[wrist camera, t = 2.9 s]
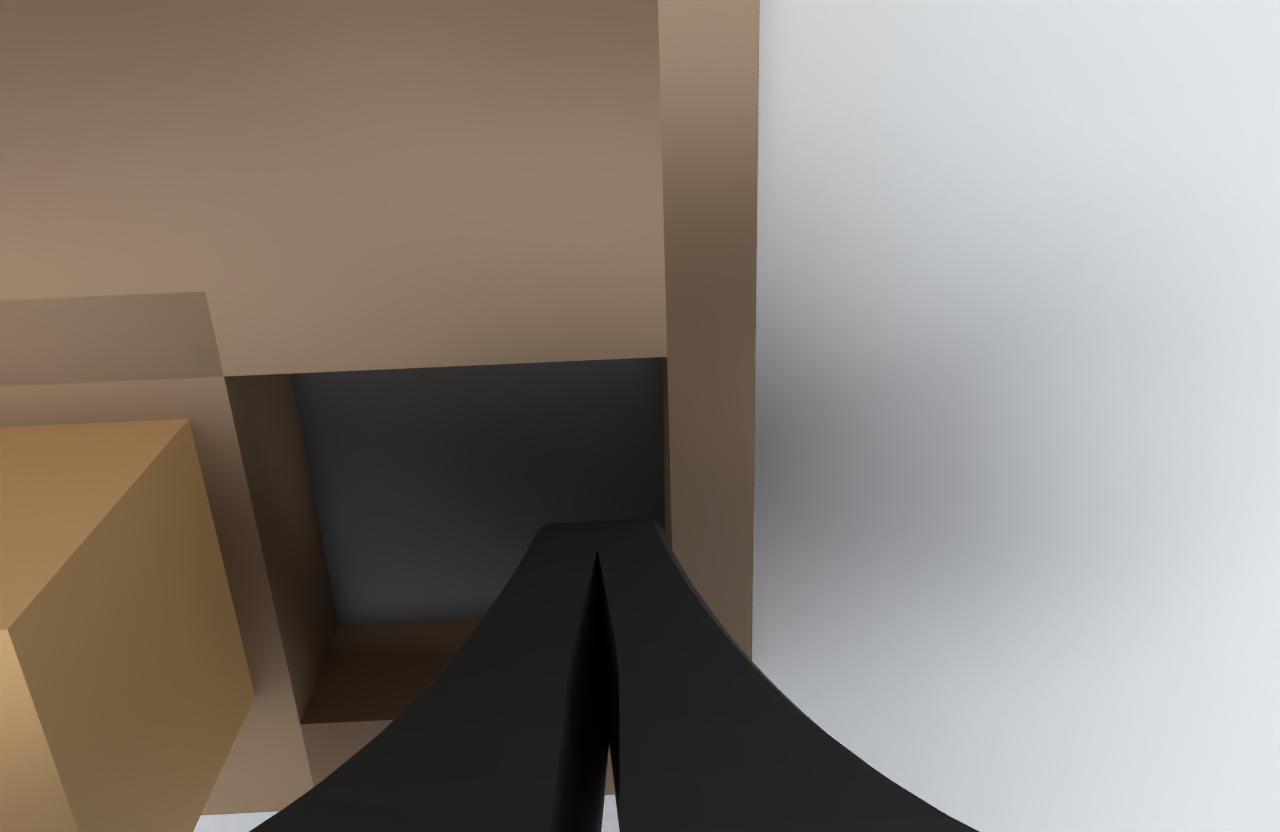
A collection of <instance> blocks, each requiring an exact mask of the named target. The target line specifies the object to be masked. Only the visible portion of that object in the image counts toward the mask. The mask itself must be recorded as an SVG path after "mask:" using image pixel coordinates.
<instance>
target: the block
mask: <svg viewBox="0 0 1280 832" xmlns="http://www.w3.org/2000/svg"><path fill="white" fill-rule="evenodd" d="M254 698H255V694H254V690H253V685H252V681H251V677H250V673H249V669H248V664H247V660H246V656H245V652H244V648H243V644H242V639H241V635H240V631H239V627H238V623H237V618H236V614H235V610H234V606H233V602H232V597H231V593H230V589H229V585H228V581H227V576H226V572H225V568H224V564H223V560H222V555H221V551H220V547H219V543H218V539H217V535H216V530H215V526H214V522H213V518H212V514H211V509H210V505H209V501H208V497H207V493H206V488H205V484H204V480H203V476H202V472H201V467H200V463H199V459H198V455H197V451H196V447H195V442H194V438H193V434H192V430H191V426H190V421H189V419H172V420H150V421H128V422H105V423H83V424H61V425H39V426H16V427H0V832H193V831H194V828H195V826H196V824H197V822H198V820H199V817H200V815H201V813H202V811H203V809H204V807H205V804H206V802H207V800H208V798H209V796H210V793H211V791H212V789H213V787H214V785H215V783H216V780H217V778H218V776H219V774H220V772H221V770H222V767H223V765H224V763H225V761H226V759H227V756H228V754H229V752H230V750H231V748H232V746H233V743H234V741H235V739H236V737H237V735H238V733H239V730H240V728H241V726H242V724H243V722H244V719H245V717H246V715H247V713H248V711H249V709H250V706H251V704H252V702H253V700H254Z"/></svg>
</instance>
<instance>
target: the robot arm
mask: <svg viewBox="0 0 1280 832" xmlns="http://www.w3.org/2000/svg"><path fill="white" fill-rule="evenodd" d="M609 748H610V756H611V764H612V772H613V781H614V789H615V797H616V805H617V813H618V821H619V829H620V832H979V831H977V830H975V829H973V828H971V827H969V826H967V825H965V824H963V823H961V822H960V821H958V820H956V819H954V818H952V817H950V816H948V815H946V814H945V813H943V812H941V811H939V810H938V809H936V808H935V807H933V806H931V805H930V804H928V803H926V802H925V801H923V800H922V799H920V798H918V797H917V796H915V795H914V794H912V793H910V792H909V791H907V790H906V789H904V788H902V787H901V786H899V785H898V784H896V783H894V782H893V781H891V780H890V779H888V778H887V777H885V776H884V775H882V774H881V773H879V772H878V771H877V770H875V769H874V768H872V767H871V766H870V765H868V764H867V763H866V762H864V761H863V760H862V759H860V758H859V757H858V756H856V755H855V754H854V753H852V752H851V751H850V750H848V749H847V748H846V747H844V746H843V745H842V744H840V743H839V742H838V741H836V740H835V739H834V738H832V737H831V736H830V735H828V734H827V733H826V732H825V731H824V730H822V729H821V728H820V727H819V726H818V725H817V724H815V723H814V722H813V721H812V720H811V719H810V718H809V717H807V716H806V715H805V714H804V713H803V712H802V711H801V710H800V709H799V708H798V707H796V706H795V705H794V704H793V703H792V702H791V701H790V700H789V699H788V698H787V697H786V696H785V695H784V694H783V693H782V692H781V691H780V690H779V689H778V688H777V687H776V686H775V685H774V684H773V683H772V682H771V681H770V680H769V679H768V678H767V677H766V676H765V675H764V674H763V673H762V672H761V671H760V669H759V668H758V667H757V666H756V665H755V664H754V663H753V662H752V661H751V659H750V658H749V657H748V656H747V655H746V654H745V652H744V651H743V650H742V649H741V648H740V647H739V645H738V644H737V643H736V642H735V641H734V640H733V638H732V637H731V636H730V635H729V633H728V632H727V631H726V630H725V628H724V627H723V626H722V624H721V623H720V622H719V621H718V619H717V618H716V616H715V615H714V614H713V612H712V611H711V610H710V608H709V607H708V605H707V604H706V603H705V601H704V600H703V598H702V597H701V596H700V594H699V593H698V591H697V590H696V588H695V587H694V585H693V584H692V582H691V581H690V579H689V578H688V576H687V574H686V573H685V571H684V569H683V568H682V566H681V564H680V563H679V561H678V559H677V558H676V556H675V554H674V552H673V550H672V548H671V546H670V544H669V542H668V540H667V537H666V535H665V533H664V529H663V527H662V526H661V525H660V524H659V523H657V522H656V521H655V520H654V519H632V520H610V521H588V522H565V523H546V524H545V525H544V526H543V527H542V528H541V529H540V530H539V531H538V532H537V533H536V535H535V537H534V539H533V541H532V543H531V545H530V546H529V548H528V550H527V552H526V554H525V555H524V557H523V559H522V561H521V562H520V564H519V565H518V567H517V569H516V570H515V572H514V573H513V575H512V577H511V578H510V580H509V581H508V583H507V584H506V586H505V587H504V589H503V590H502V592H501V593H500V595H499V596H498V597H497V599H496V600H495V602H494V603H493V604H492V606H491V607H490V609H489V610H488V612H487V613H486V614H485V616H484V617H483V619H482V620H481V621H480V623H479V624H478V625H477V627H476V628H475V629H474V631H473V632H472V633H471V634H470V636H469V637H468V638H467V639H466V641H465V642H464V643H463V644H462V645H461V647H460V648H459V649H458V650H457V652H456V653H455V654H454V655H453V656H452V658H451V659H450V660H449V661H448V662H447V664H446V665H445V666H444V667H443V669H442V670H441V671H440V672H439V673H438V674H437V675H436V677H435V678H434V679H433V680H432V681H431V682H430V683H429V684H428V685H427V686H426V688H425V689H424V690H423V691H422V692H421V693H420V694H419V695H418V696H417V697H416V698H415V699H414V700H413V701H412V702H411V703H410V704H409V705H408V706H407V707H406V708H405V709H404V710H403V711H402V712H401V713H400V714H399V715H398V716H397V717H396V718H395V719H394V720H393V721H392V722H391V723H390V724H389V725H388V726H387V727H386V728H385V729H384V730H383V731H382V732H381V733H379V734H378V735H377V736H376V737H375V738H374V739H373V740H371V741H370V742H369V743H368V744H367V745H365V746H364V747H363V748H362V749H360V750H359V751H358V752H357V753H356V754H354V755H353V756H352V757H351V758H349V759H348V760H347V761H346V762H345V763H343V764H342V765H341V766H340V767H339V768H337V769H336V770H335V771H334V772H332V773H331V774H330V775H329V776H328V777H326V778H325V779H324V780H323V781H321V782H320V783H319V784H317V785H316V786H315V787H313V788H312V789H311V790H309V791H308V792H306V793H305V794H304V795H302V796H301V797H299V798H298V799H297V800H295V801H294V802H292V803H291V804H290V805H288V806H287V807H285V808H284V809H283V810H281V811H280V812H278V813H277V814H275V815H274V816H272V817H271V818H269V819H268V820H266V821H265V822H263V823H262V824H260V825H258V826H257V827H255V828H254V829H252V830H251V831H249V832H601V827H602V817H603V806H604V796H605V785H606V774H607V763H608V752H609Z"/></svg>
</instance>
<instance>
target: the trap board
mask: <svg viewBox="0 0 1280 832" xmlns="http://www.w3.org/2000/svg"><path fill="white" fill-rule="evenodd" d="M758 78H759V0H0V427H16V426H39V425H61V424H83V423H105V422H128V421H150V420H172V419H189V421H190V426H191V430H192V434H193V438H194V442H195V447H196V451H197V455H198V459H199V463H200V467H201V472H202V476H203V480H204V484H205V488H206V493H207V497H208V501H209V505H210V509H211V514H212V518H213V522H214V526H215V530H216V535H217V539H218V543H219V547H220V551H221V555H222V560H223V564H224V568H225V572H226V576H227V581H228V585H229V589H230V593H231V597H232V602H233V606H234V610H235V614H236V618H237V623H238V627H239V631H240V635H241V639H242V644H243V648H244V652H245V656H246V660H247V664H248V669H249V673H250V677H251V681H252V685H253V690H254V694H255V698H254V700H253V702H252V704H251V706H250V709H249V711H248V713H247V715H246V717H245V719H244V722H243V724H242V726H241V728H240V730H239V733H238V735H237V737H236V739H235V741H234V743H233V746H232V748H231V750H230V752H229V754H228V756H227V759H226V761H225V763H224V765H223V767H222V770H221V772H220V774H219V776H218V778H217V780H216V783H215V785H214V787H213V789H212V791H211V793H210V796H209V798H208V800H207V802H206V804H205V807H204V809H203V811H202V813H201V815H213V814H233V813H253V812H273V811H281V810H283V809H284V808H285V807H287V806H288V805H290V804H291V803H292V802H294V801H295V800H297V799H298V798H299V797H301V796H302V795H304V794H305V793H306V792H308V791H309V790H311V789H312V788H313V787H315V786H316V785H317V784H319V783H320V782H321V781H323V780H324V779H325V778H326V777H328V776H329V775H330V774H331V773H332V772H334V771H335V770H336V769H337V768H339V767H340V766H341V765H342V764H343V763H345V762H346V761H347V760H348V759H349V758H351V757H352V756H353V755H354V754H356V753H357V752H358V751H359V750H360V749H362V748H363V747H364V746H365V745H367V744H368V743H369V742H370V741H371V740H373V739H374V738H375V737H376V736H377V735H378V734H379V733H381V732H382V731H383V730H384V729H385V728H386V727H387V726H388V725H389V724H390V723H391V722H392V721H393V720H394V719H395V718H396V717H397V716H398V715H399V714H400V713H401V712H402V711H403V710H404V709H405V708H406V707H407V706H408V705H409V704H410V703H411V702H412V701H413V700H414V699H415V698H416V697H417V696H418V695H419V694H420V693H421V692H422V691H423V690H424V689H425V688H426V686H427V685H428V684H429V683H430V682H431V681H432V680H433V679H434V678H435V677H436V675H437V674H438V673H439V672H440V671H441V670H442V669H443V667H444V666H445V665H446V664H447V662H448V661H449V660H450V659H451V658H452V656H453V655H454V654H455V653H456V652H457V650H458V649H459V648H460V647H461V645H462V644H463V643H464V642H465V641H466V639H467V638H468V637H469V636H470V634H471V633H472V632H473V631H474V629H475V628H476V627H477V625H478V624H479V623H480V621H481V620H482V619H483V617H484V616H485V614H486V613H487V612H488V610H489V609H490V607H491V606H492V604H493V603H494V602H495V600H496V599H497V597H498V596H499V595H500V593H501V592H502V590H503V589H504V587H505V586H506V584H507V583H508V581H509V580H510V578H511V577H512V575H513V573H514V572H515V570H516V569H517V567H518V565H519V564H520V562H521V561H522V559H523V557H524V555H525V554H526V552H527V550H528V548H529V546H530V545H531V543H532V541H533V539H534V537H535V535H536V533H537V532H538V531H539V530H540V529H541V528H542V527H543V526H544V525H545V524H546V523H565V522H588V521H610V520H632V519H654V520H655V521H656V522H657V523H659V524H660V525H661V526H662V527H663V529H664V533H665V535H666V537H667V540H668V542H669V544H670V546H671V548H672V550H673V552H674V554H675V556H676V558H677V559H678V561H679V563H680V564H681V566H682V568H683V569H684V571H685V573H686V574H687V576H688V578H689V579H690V581H691V582H692V584H693V585H694V587H695V588H696V590H697V591H698V593H699V594H700V596H701V597H702V598H703V600H704V601H705V603H706V604H707V605H708V607H709V608H710V610H711V611H712V612H713V614H714V615H715V616H716V618H717V619H718V621H719V622H720V623H721V624H722V626H723V627H724V628H725V630H726V631H727V632H728V633H729V635H730V636H731V637H732V638H733V640H734V641H735V642H736V643H737V644H738V645H739V647H740V648H741V649H742V650H743V651H744V652H745V654H746V655H747V656H748V657H749V658H750V659H751V661H752V585H753V501H754V416H755V331H756V247H757V162H758ZM612 794H615V789H614V781H613V772H612V764H611V756H610V748H609V752H608V763H607V774H606V785H605V795H612Z"/></svg>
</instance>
